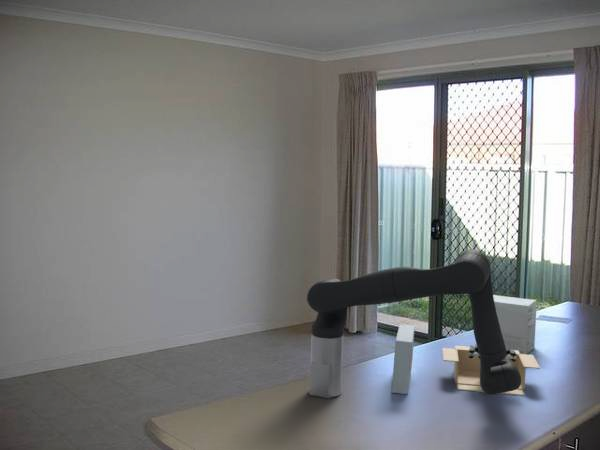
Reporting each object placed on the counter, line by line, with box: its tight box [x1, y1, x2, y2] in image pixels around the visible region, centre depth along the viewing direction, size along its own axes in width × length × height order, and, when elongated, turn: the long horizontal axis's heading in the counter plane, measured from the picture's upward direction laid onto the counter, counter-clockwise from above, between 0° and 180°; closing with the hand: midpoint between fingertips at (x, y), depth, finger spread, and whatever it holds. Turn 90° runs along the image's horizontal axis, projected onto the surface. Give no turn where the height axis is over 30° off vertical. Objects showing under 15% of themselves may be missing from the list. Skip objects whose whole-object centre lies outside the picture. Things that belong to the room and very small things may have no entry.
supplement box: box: [493, 294, 538, 355], centre depth 249 cm, size 17×13×18 cm
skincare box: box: [390, 323, 415, 395], centre depth 207 cm, size 21×5×16 cm, turn 168°
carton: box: [442, 345, 541, 397], centre depth 211 cm, size 22×28×8 cm
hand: (489, 347), depth 212 cm, fingers closed on beverage can, 6 cm apart
